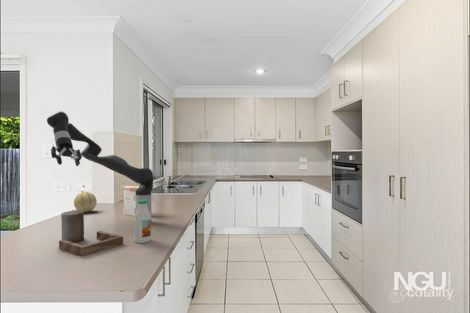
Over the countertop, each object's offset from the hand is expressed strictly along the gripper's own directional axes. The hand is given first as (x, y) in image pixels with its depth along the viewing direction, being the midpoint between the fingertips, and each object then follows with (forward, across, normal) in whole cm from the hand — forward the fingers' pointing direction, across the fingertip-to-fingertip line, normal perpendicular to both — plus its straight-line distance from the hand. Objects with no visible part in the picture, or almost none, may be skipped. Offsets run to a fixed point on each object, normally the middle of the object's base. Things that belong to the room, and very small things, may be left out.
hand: (69, 164), depth 154 cm
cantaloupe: (-8, -37, -60) cm, 72 cm away
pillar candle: (+36, -1, -15) cm, 39 cm away
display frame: (+45, -2, -3) cm, 45 cm away
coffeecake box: (+12, -54, -33) cm, 65 cm away
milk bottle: (+51, -21, +8) cm, 56 cm away
